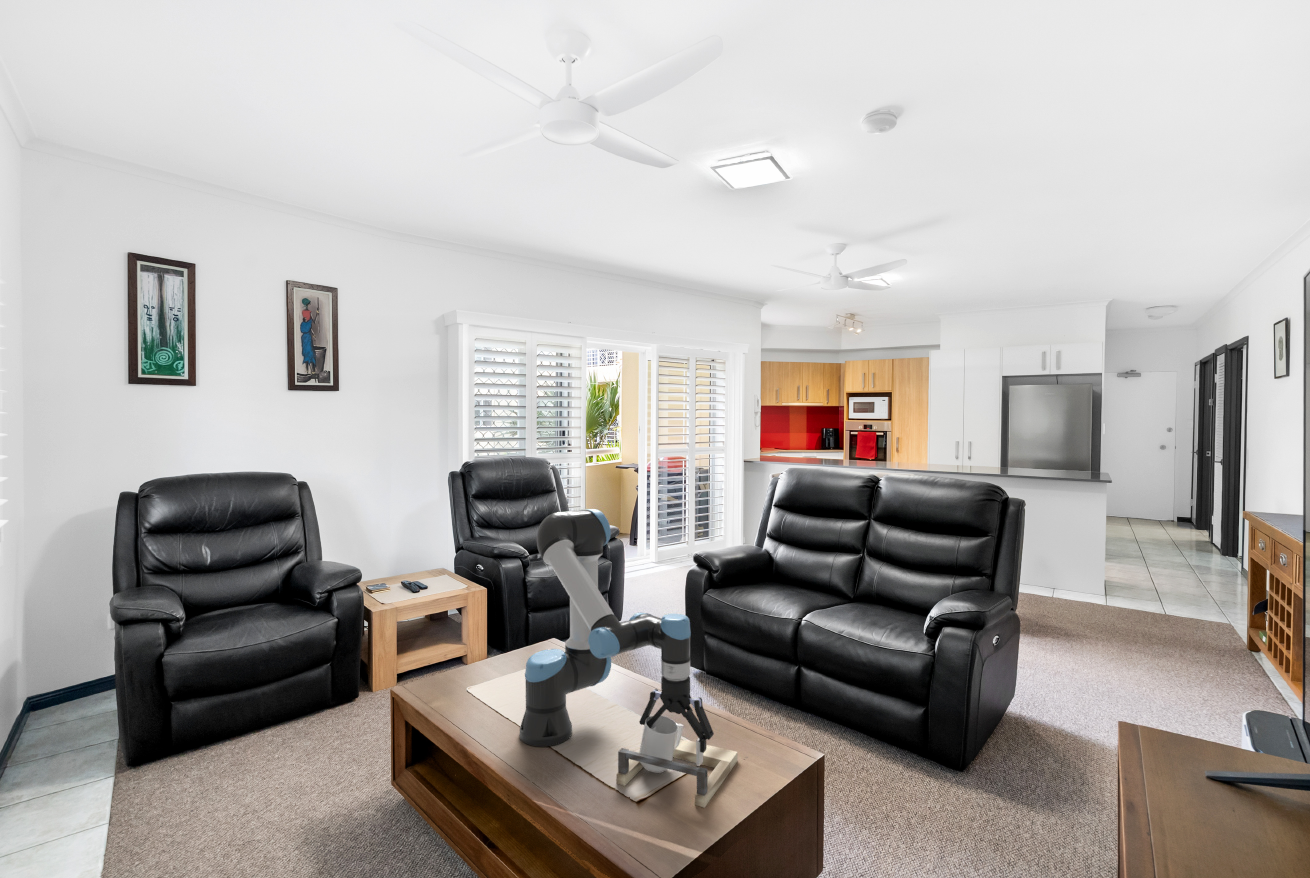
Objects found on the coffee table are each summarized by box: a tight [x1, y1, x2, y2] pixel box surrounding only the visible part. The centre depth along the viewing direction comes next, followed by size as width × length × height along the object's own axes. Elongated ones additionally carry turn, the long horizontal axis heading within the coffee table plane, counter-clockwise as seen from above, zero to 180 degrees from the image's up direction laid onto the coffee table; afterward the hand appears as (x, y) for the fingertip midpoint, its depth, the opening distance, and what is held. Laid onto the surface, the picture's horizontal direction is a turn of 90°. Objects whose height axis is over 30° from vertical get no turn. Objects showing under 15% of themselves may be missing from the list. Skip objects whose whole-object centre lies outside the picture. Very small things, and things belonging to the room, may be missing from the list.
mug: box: [638, 714, 685, 773], centre depth 170 cm, size 12×9×11 cm
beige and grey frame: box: [615, 738, 739, 809], centre depth 169 cm, size 24×24×8 cm
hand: (675, 758), depth 167 cm, fingers open, 13 cm apart
